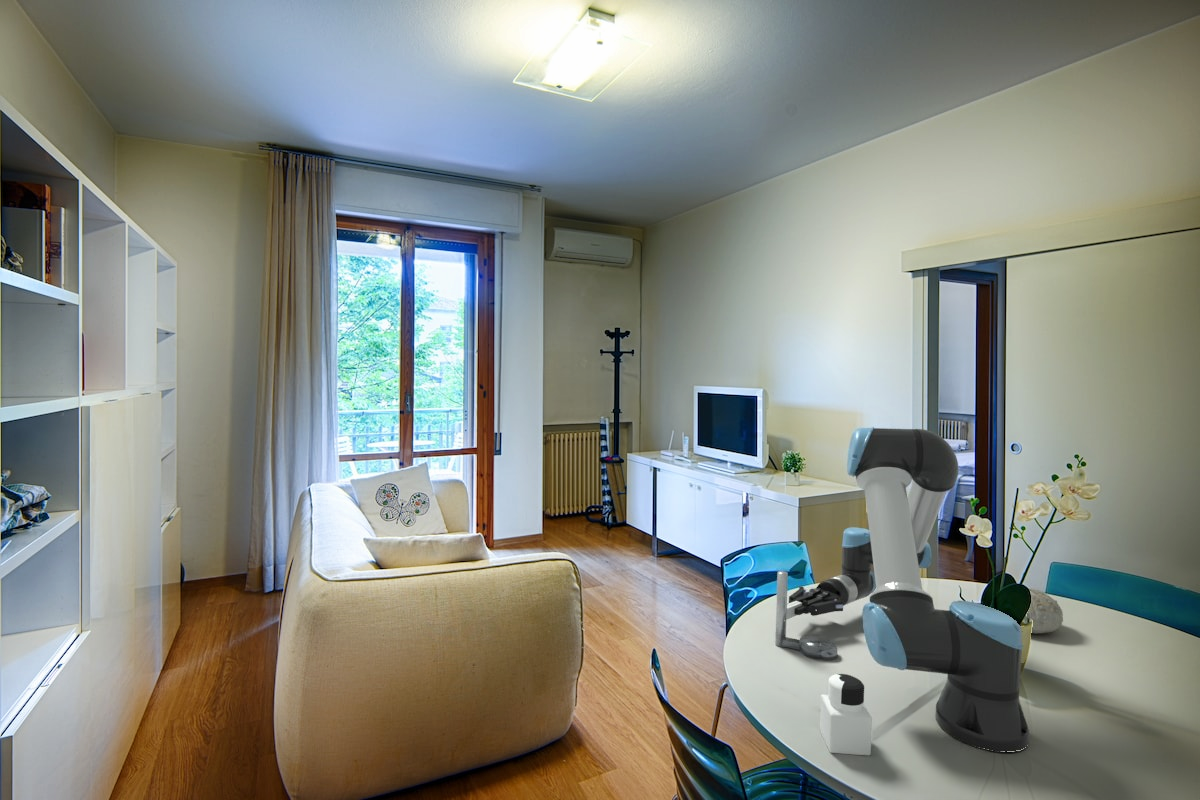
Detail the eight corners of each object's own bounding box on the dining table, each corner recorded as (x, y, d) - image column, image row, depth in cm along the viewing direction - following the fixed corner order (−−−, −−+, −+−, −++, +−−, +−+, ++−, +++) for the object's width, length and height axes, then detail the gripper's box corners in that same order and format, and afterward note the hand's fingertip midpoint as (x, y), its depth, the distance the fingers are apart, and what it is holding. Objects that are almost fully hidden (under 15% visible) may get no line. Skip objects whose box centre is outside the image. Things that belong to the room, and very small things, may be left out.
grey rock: (979, 627, 162) (980, 591, 161) (985, 607, 176) (986, 574, 176) (1062, 647, 151) (1064, 608, 151) (1061, 623, 165) (1063, 588, 165)
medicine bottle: (858, 732, 113) (860, 670, 113) (871, 756, 106) (873, 690, 106) (819, 729, 114) (821, 668, 114) (829, 753, 107) (831, 688, 106)
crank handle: (838, 651, 144) (841, 577, 143) (835, 663, 138) (838, 586, 137) (778, 638, 150) (780, 567, 149) (772, 649, 144) (774, 575, 143)
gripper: (859, 614, 157) (806, 637, 142) (813, 598, 167) (760, 618, 153) (860, 585, 156) (807, 606, 142) (814, 571, 167) (761, 590, 152)
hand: (783, 613), depth 147 cm, fingers closed
